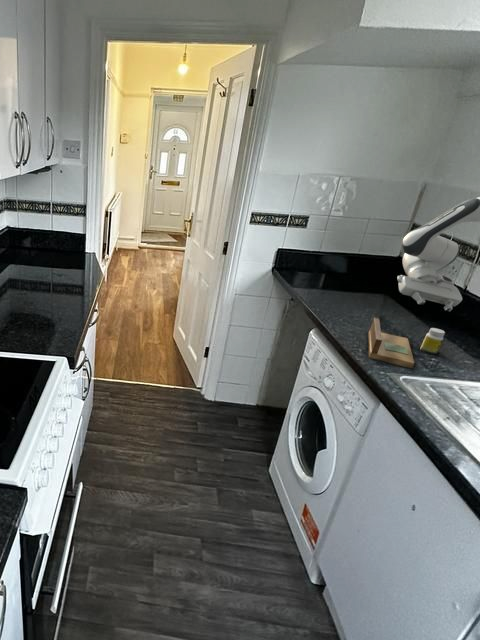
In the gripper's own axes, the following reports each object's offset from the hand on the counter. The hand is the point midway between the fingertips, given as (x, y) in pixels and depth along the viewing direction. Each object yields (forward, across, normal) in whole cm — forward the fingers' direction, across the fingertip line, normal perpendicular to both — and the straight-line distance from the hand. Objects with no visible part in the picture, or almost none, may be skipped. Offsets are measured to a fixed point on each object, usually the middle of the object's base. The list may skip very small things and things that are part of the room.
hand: (435, 306), depth 146 cm
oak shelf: (+18, -14, +10) cm, 25 cm away
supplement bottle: (+15, -1, +9) cm, 17 cm away
